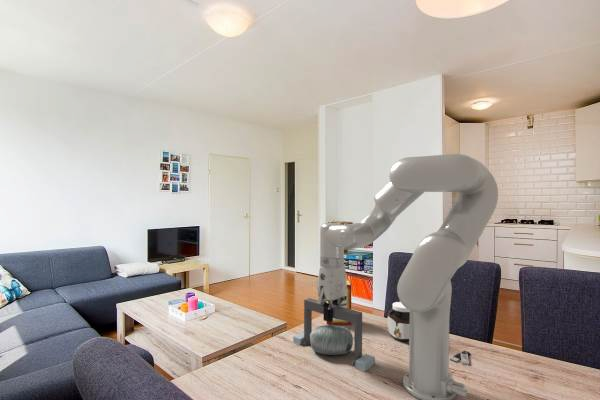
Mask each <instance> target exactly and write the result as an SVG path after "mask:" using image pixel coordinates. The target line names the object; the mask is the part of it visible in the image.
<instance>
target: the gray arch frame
mask: <svg viewBox="0 0 600 400" xmlns="http://www.w3.org/2000/svg"><path fill="white" fill-rule="evenodd" d="M326 302H327V303H328V301H326ZM303 307H304V309H303V332H304V341H303V342H302V344H301V345H302V346H307V345H309V344H311V342H310V334H311V332H312V331H313V328H312V325H313V324H312V323H313V322H312V320H313V317H312V315H313V313H312V312H315V313H319V314H322V315H323V314H324V308H322V305H321V304H319V303H318V299H315V298H312V297H311V298H310V297H309V298H307V299H304V300H303ZM331 309H333V317H334V318H338V319H341V320H344V321H348V322H351V324H354V335H353V336H354V337H353V348H354V349H353V350H354V351H353V352H354V355H353V359H354V360H352V366H353V367H356V360H358V359H359V358H360V357H362V356H363V312H362V311H360V310H359V311H358V310H356V309H353V308H351V309H348V308H344V307H340V306H337V305H333V304H332V308H331Z"/></svg>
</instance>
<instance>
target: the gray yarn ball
mask: <svg viewBox="0 0 600 400" xmlns="http://www.w3.org/2000/svg"><path fill="white" fill-rule="evenodd" d="M310 342H311V343H310V345H311V348H312V350H313V351H314V353H315V352H316V353H317V354H321V355H327V356H328V355H329V356H330V355H331V356H337V355H338V356H339V355H346V354H349V353H350V352H351V351H352V349H353V346H354V337H353V334H352V332H351V330H350V329H349V328H347V327H345V326H341V325H335V324H325V325H320V326H316V327H315V328H314V329H312V332H311V334H310Z"/></svg>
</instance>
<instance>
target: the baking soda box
mask: <svg viewBox="0 0 600 400" xmlns="http://www.w3.org/2000/svg"><path fill="white" fill-rule="evenodd" d="M346 284H347V293H346V295H345V296H343V297H342V299H341V305H340V307H344V308H348V309H352V283H351V281H350V280H346ZM326 325H335V326H341V325H342V326H345V325H346V326H351V325H352V323H351V322H348V321H344V320H341V319H336V318H333V322H327V321H326Z"/></svg>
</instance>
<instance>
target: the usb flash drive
mask: <svg viewBox="0 0 600 400" xmlns="http://www.w3.org/2000/svg"><path fill="white" fill-rule="evenodd" d="M469 355H470V356H471V352H470V351H467V350H462V351H460V352H458V353H456V354H454V355H453V356H452V357H449V361H451V360H452V361H454V362H457V363H459V362H460V360H461V363H460V364H461V365H462V364H463V366H467V365H468V367H470V361H469V357H470V356H469Z"/></svg>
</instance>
